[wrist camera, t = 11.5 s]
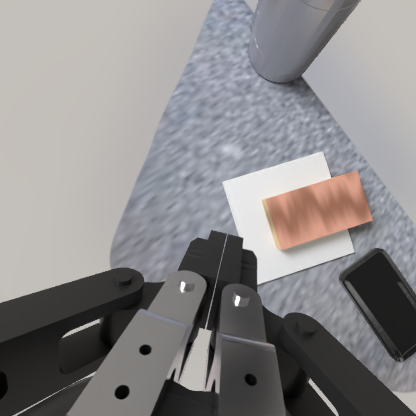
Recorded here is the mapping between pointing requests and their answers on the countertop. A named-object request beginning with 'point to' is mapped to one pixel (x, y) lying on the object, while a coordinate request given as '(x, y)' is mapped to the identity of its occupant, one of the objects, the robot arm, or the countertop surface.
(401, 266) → the countertop surface
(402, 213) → the countertop surface
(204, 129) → the countertop surface
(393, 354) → the phone
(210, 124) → the countertop surface
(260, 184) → the white square pad
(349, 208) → the brown flat rectangular block
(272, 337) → the robot arm
